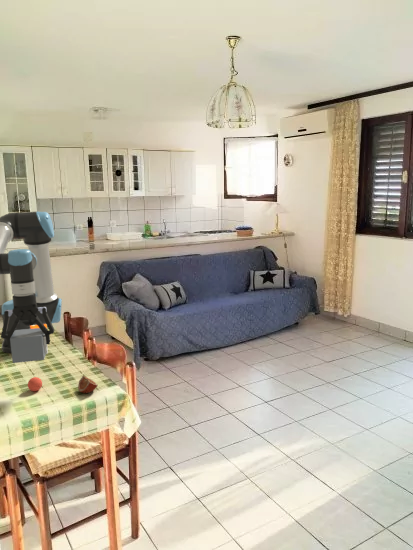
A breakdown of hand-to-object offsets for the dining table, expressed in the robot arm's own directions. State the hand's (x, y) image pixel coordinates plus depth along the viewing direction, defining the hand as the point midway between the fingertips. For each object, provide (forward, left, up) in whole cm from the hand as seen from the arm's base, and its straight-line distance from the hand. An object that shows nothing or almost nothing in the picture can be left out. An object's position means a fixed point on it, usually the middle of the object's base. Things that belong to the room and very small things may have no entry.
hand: (30, 354), depth 160 cm
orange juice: (-77, -9, -15) cm, 79 cm away
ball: (-2, 0, -12) cm, 13 cm away
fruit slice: (+4, +19, -15) cm, 25 cm away
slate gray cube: (0, 0, -1) cm, 1 cm away
